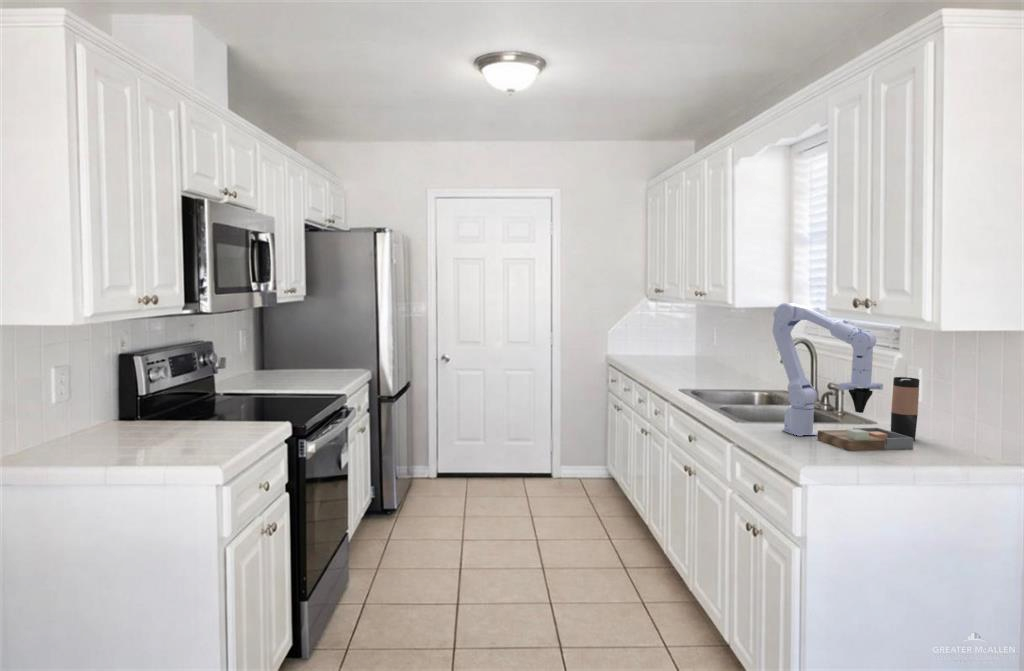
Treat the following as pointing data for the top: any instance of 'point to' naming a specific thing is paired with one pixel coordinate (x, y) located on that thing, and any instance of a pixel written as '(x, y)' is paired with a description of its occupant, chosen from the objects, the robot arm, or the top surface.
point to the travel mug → (905, 406)
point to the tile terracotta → (878, 435)
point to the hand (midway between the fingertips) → (859, 412)
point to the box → (893, 439)
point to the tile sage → (857, 434)
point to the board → (850, 441)
